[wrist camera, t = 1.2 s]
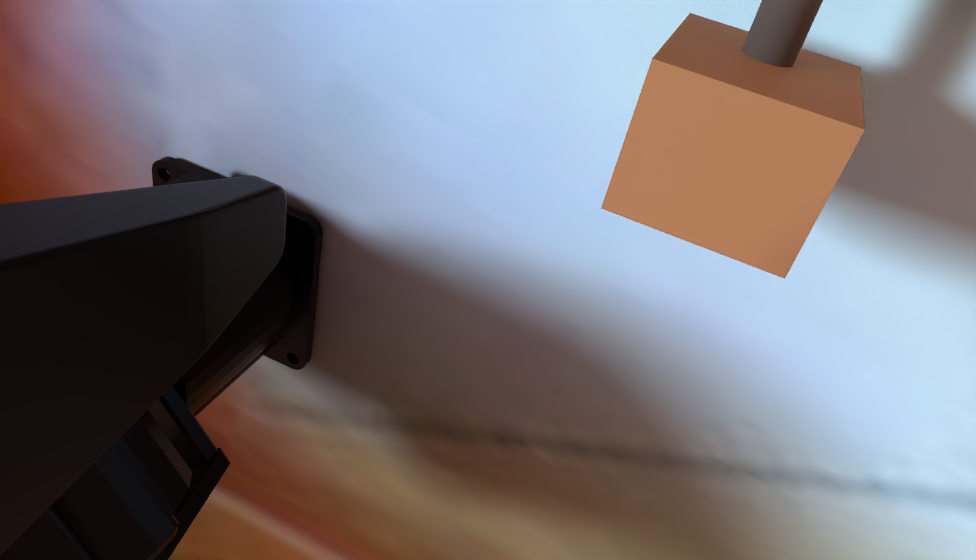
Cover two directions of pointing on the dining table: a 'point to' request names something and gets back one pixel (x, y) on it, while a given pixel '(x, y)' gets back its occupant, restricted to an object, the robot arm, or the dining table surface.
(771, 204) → the tethered block
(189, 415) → the robot arm
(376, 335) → the dining table surface
